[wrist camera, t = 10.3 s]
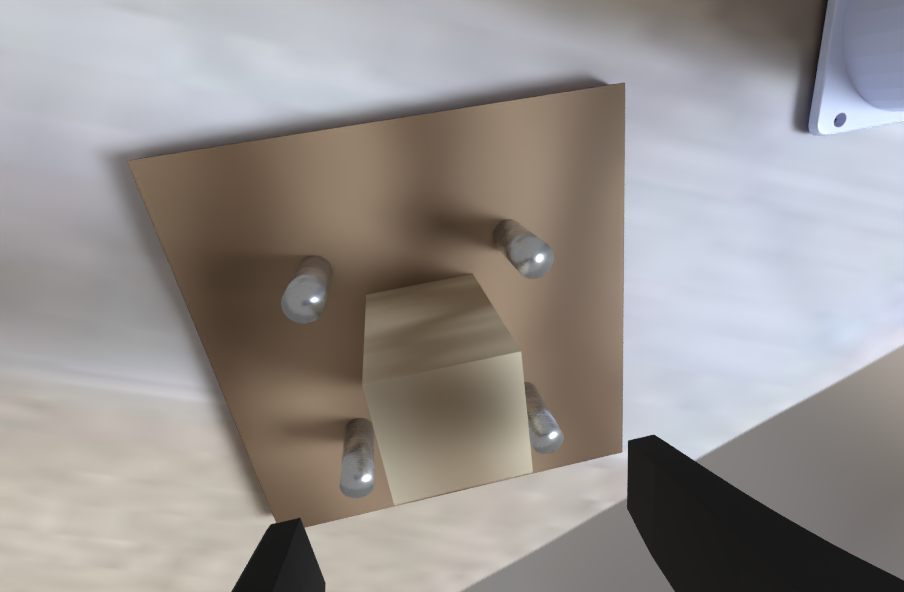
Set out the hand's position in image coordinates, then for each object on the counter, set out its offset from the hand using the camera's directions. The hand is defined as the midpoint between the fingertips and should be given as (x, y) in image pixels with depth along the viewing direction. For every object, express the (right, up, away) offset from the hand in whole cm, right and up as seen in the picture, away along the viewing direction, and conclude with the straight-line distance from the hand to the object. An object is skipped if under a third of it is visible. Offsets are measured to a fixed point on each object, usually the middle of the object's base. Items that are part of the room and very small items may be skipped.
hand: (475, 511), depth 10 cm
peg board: (-2, +3, +9) cm, 9 cm away
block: (-1, +3, +8) cm, 8 cm away
